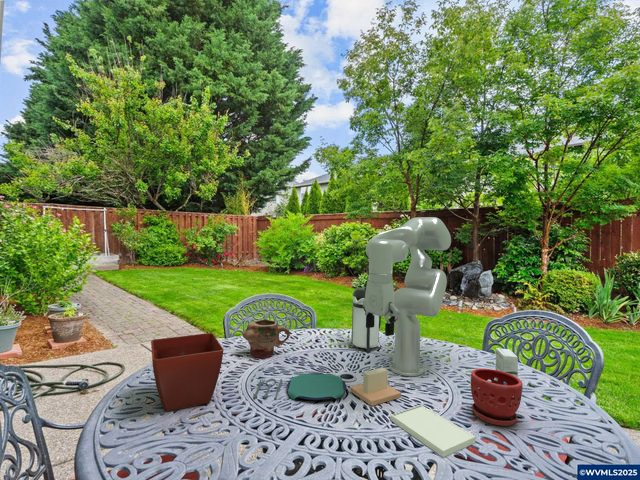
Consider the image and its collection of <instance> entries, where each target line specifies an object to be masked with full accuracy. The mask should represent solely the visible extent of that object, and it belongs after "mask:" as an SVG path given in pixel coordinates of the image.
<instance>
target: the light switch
mask: <svg viewBox="0 0 640 480" xmlns="http://www.w3.org/2000/svg"><path fill="white" fill-rule="evenodd" d="M388 375H389V371H388V369H386V368H384V367H380V368H376V369H372V370H367V371H363V377H362V379H363V380H362V381H363V382H362V383H361V384H356V385H353V386H350V387H349V388H350V389H349V390H350V391H349V392H350V393H352V394H353V395H354V396H355V395H356V396H357V397H358V398H360V399H361V400H362V401H363V402H365V403H366V404H368V405H369V406H371V407H373V406H376V405H380V404H383V403H386V402H389V401H392V400H397V399H400V398H402V392H400V391H399V390H397V389H395V388H393V387H392V386H390V385H389V384H388V379H389V377H388Z"/></svg>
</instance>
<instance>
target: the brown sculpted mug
mask: <svg viewBox="0 0 640 480" xmlns="http://www.w3.org/2000/svg"><path fill="white" fill-rule="evenodd" d="M282 332H284V333H286V337H285V338H284V339H283V340H280V334H281V333H282ZM290 336H291V332H290V330H289V329H288V328H287V327H286V326H279V325H278V323H277V322H276V321H275V320H270V319H259V320H256V321H251V322H250V323H248V324H247V326H246V329H245V330H243V332H242V337H243V339H244V340H245V341H247V342H248V345H249V347H250V350H249V354H250V357H253V358H256V359H268V358H271V357H273V355H274V354H275V353H274V352H275V350H274V349H275V348H278V347H280V346H282V345H283V344H284V343H286V342H287V340H289V338H290Z"/></svg>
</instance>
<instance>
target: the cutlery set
mask: <svg viewBox="0 0 640 480" xmlns="http://www.w3.org/2000/svg"><path fill="white" fill-rule="evenodd" d="M270 381H272V382H274V384H271V385H270V384H268V383H269V382H270ZM265 383H266V385H267V386H268V387H267V389H266V392H265V393H264V396H263V399H267V398H268V395H269V391H270V389H271V387H274V385H276V383H277V379H275V378H270V379H267V381H265V379H260V380H259V381H258V383H257V384H256V385H257V389H256V391H255V393H254V394H253V397H252V398H253V400H256V398H257V396H258V395H259V392H260V390H261V388H262V387H263V386H264V384H265ZM282 385H283V379H282V378H280V380H279V383H278V386H276V389H275V390H276V393H275V396H274V399H273V400H274V401H277V396H278V395H279V392H280V391H281V387H282ZM286 389H287V391H288V393H287V394H288V396H289V398H290V399H292V400H296V399H298V398H300V399H302V400H307V401H308V400H309V401H326V400H331V399H335V400H337V399H339V398H341V397H343V396H344V394H345V391H346V389H347V384H346V382H345V381H344V380H343V377H340V376H339V375H336V374H333V373H322V372H321V373H318V372H317V373H316V372H315V373H302V374H298V375H296V376H293V377H291V378H290V380H289V381H288V382H287V384H286Z"/></svg>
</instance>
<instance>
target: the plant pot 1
mask: <svg viewBox="0 0 640 480" xmlns="http://www.w3.org/2000/svg"><path fill="white" fill-rule="evenodd" d="M150 346H151V348H150V349H151V360H152V361H151V363H152V370H153V377H154V380H155V381H154V382H155V387H156V391H157V394H158V397H159V400H160V404H161V406H162V410H163V412H165V413H167V412H173V411H176V410H177V411H178V410H182V409H186V408H190V407H191V408H192V407H195V406H201V405H204V404H205V405H206V404H209V403H211V400H212V399H213V395H214V392H215V390H216V386H217V383H218V380H219V376H220V372H221V367H222V362H223V356H224V350H225V349H224V347H222V345H221V343H220V341H219V340H218V338H217V337H216V336H215V333H213V332H207V333H199V334H198V333H196V334H189V335H182V336H173V337H166V338H165V337H163V338H156V339H152V340H150Z"/></svg>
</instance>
